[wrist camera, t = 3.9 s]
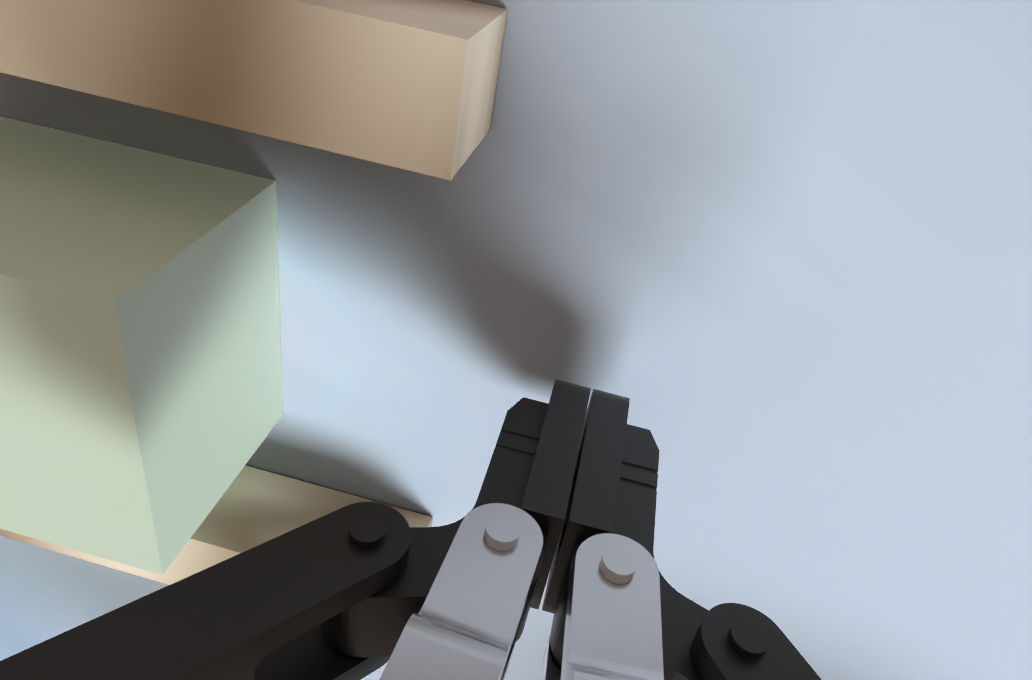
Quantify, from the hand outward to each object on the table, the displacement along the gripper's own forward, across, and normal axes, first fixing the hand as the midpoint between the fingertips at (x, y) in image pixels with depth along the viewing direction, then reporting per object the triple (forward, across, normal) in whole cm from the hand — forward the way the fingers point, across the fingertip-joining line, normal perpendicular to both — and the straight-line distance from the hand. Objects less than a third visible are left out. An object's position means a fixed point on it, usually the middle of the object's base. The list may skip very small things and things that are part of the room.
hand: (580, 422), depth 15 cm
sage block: (+1, +10, 0) cm, 10 cm away
